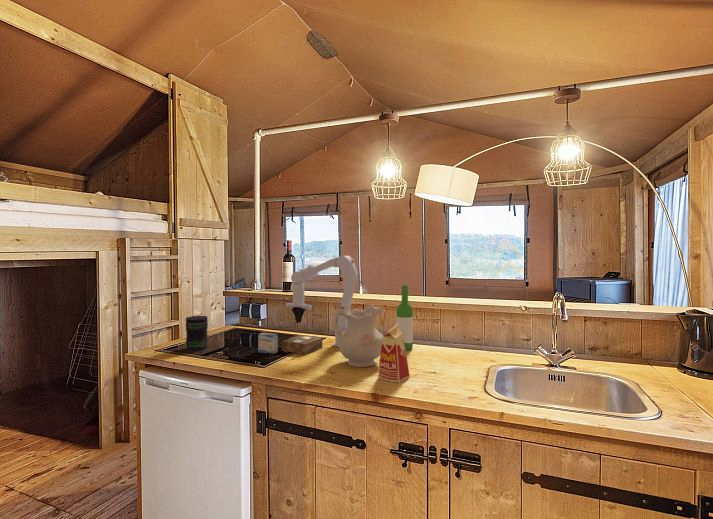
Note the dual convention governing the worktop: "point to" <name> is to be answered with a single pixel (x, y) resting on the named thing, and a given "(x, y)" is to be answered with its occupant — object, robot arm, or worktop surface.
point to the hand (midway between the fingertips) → (298, 322)
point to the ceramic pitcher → (359, 336)
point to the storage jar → (196, 333)
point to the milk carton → (393, 357)
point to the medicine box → (267, 343)
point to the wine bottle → (405, 319)
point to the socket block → (302, 345)
